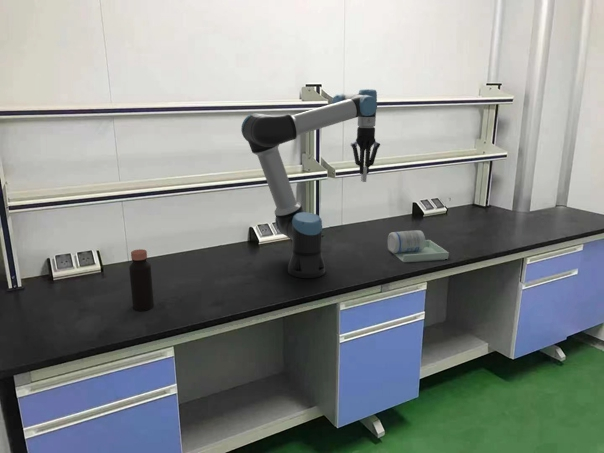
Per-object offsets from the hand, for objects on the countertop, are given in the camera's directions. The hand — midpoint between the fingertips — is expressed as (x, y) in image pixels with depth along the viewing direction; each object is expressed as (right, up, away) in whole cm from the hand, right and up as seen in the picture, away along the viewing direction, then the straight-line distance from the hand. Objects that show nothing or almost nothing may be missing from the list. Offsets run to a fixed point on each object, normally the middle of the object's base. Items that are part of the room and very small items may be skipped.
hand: (363, 181), depth 216 cm
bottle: (-81, -48, -49) cm, 106 cm away
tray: (+25, -32, +6) cm, 41 cm away
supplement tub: (+13, -27, +5) cm, 30 cm away
